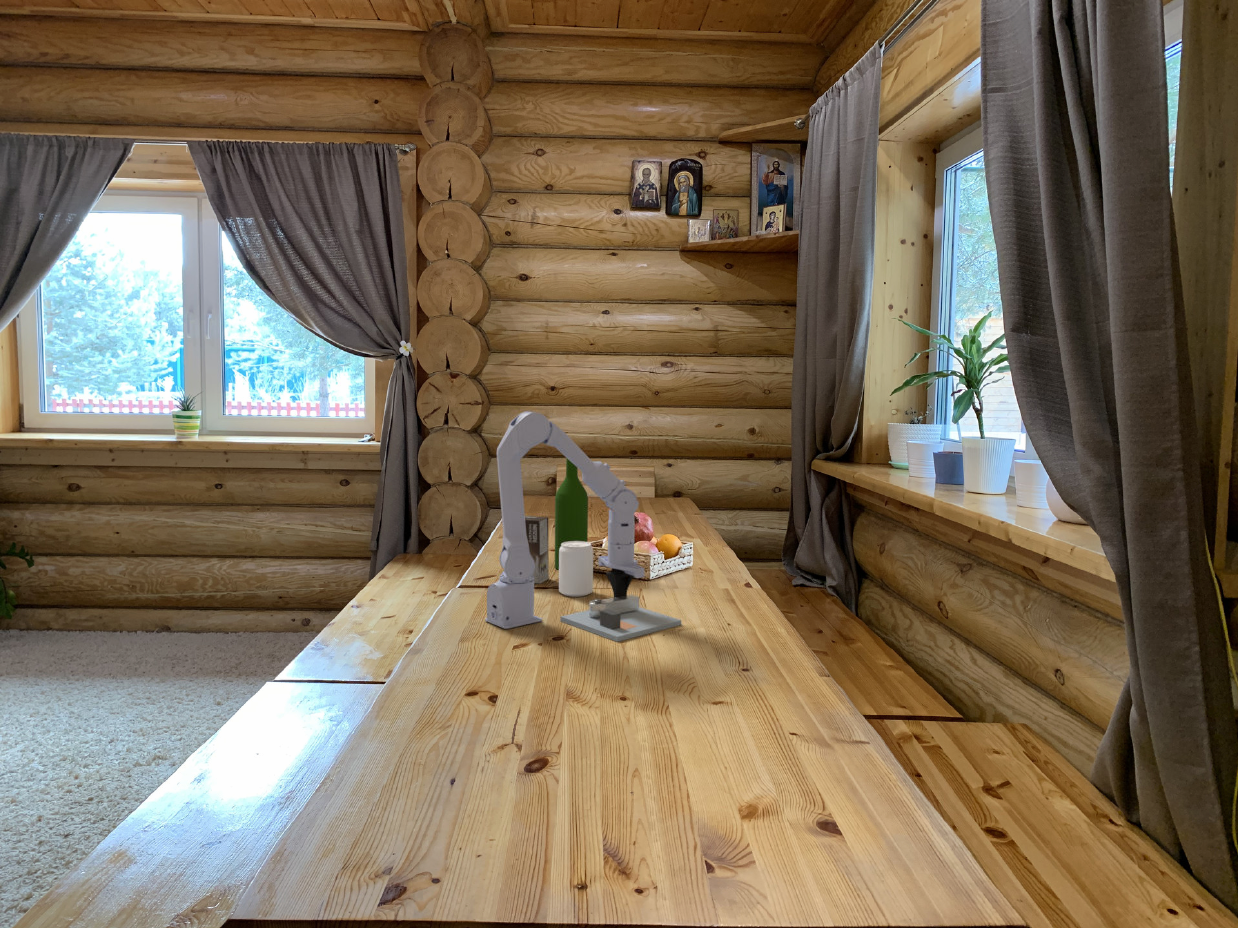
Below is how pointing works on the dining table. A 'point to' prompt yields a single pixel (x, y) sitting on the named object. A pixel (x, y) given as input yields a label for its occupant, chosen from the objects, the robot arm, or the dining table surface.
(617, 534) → the robot arm
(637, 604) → the latch bar
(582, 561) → the beverage can
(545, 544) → the coffee box
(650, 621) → the latch board
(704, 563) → the dining table surface
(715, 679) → the dining table surface
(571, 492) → the wine bottle
